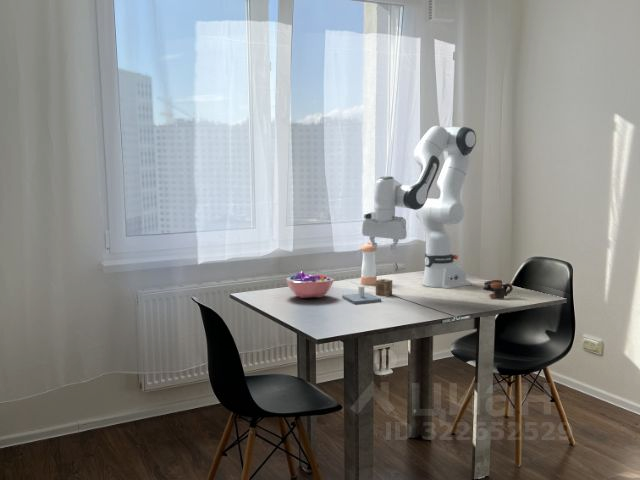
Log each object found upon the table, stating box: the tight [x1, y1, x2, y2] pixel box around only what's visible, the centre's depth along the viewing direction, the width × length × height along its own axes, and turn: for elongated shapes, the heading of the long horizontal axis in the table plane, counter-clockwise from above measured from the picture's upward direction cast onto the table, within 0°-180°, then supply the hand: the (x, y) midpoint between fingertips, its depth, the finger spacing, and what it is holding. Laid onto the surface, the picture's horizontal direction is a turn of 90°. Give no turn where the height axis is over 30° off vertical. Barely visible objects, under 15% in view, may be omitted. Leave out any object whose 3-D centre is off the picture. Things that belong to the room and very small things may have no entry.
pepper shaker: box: [360, 241, 378, 286], centre depth 294 cm, size 7×7×19 cm
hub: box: [341, 285, 382, 305], centre depth 263 cm, size 12×12×6 cm
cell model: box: [285, 270, 335, 299], centre depth 267 cm, size 17×20×11 cm
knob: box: [375, 278, 393, 297], centre depth 272 cm, size 5×5×7 cm
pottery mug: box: [482, 279, 514, 300], centre depth 268 cm, size 12×10×8 cm
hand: (383, 248), depth 270 cm, fingers open, 8 cm apart
